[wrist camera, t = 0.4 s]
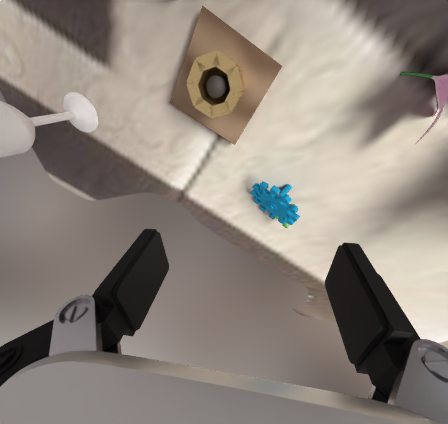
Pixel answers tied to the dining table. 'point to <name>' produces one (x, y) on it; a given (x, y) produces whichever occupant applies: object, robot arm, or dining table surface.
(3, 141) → the champagne flute
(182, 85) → the rod stand
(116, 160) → the dining table surface
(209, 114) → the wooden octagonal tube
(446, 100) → the lily
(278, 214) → the gear
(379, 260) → the dining table surface
